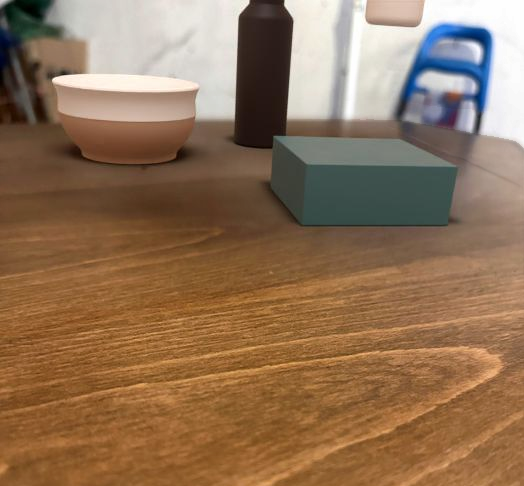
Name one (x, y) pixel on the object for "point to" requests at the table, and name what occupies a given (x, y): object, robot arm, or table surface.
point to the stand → (361, 181)
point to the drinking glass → (394, 12)
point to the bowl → (126, 115)
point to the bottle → (262, 72)
